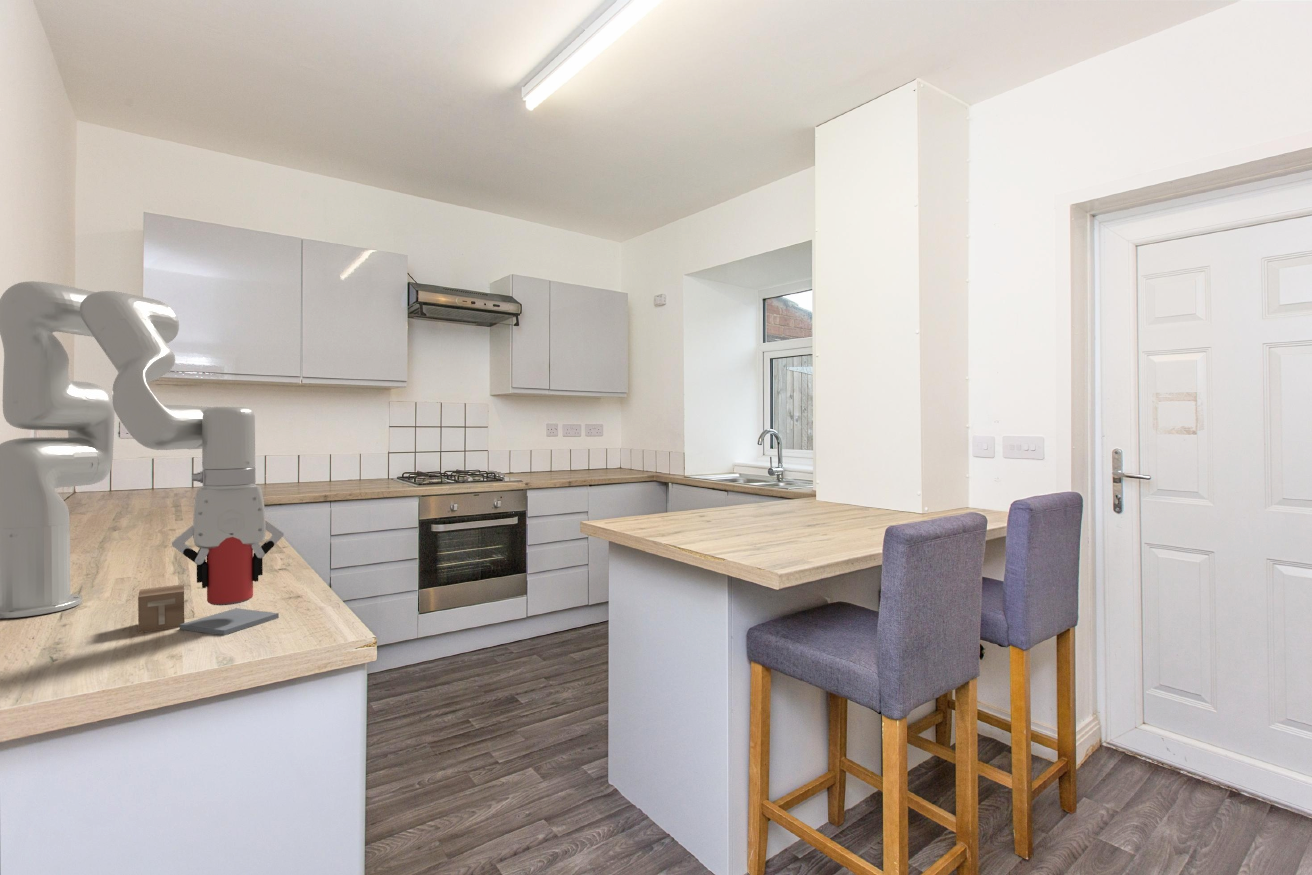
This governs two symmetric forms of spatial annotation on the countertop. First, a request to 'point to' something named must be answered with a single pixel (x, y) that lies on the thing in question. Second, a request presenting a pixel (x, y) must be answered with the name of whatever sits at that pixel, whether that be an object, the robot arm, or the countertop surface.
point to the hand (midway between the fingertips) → (230, 582)
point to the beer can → (230, 572)
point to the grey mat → (229, 621)
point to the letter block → (160, 608)
